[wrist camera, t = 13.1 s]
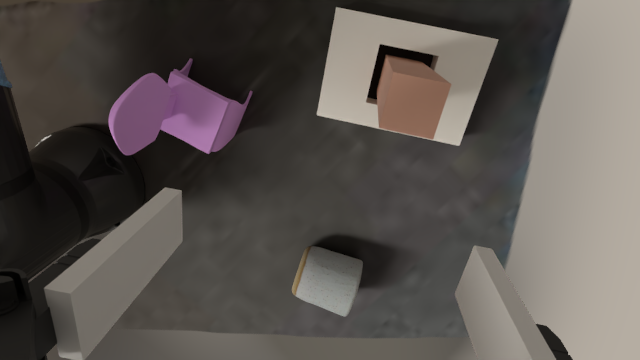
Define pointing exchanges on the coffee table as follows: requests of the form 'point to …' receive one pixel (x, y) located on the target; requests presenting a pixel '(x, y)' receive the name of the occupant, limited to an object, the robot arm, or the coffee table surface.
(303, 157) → the coffee table surface
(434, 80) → the peg
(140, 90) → the toy chair
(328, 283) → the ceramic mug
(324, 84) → the socket block
